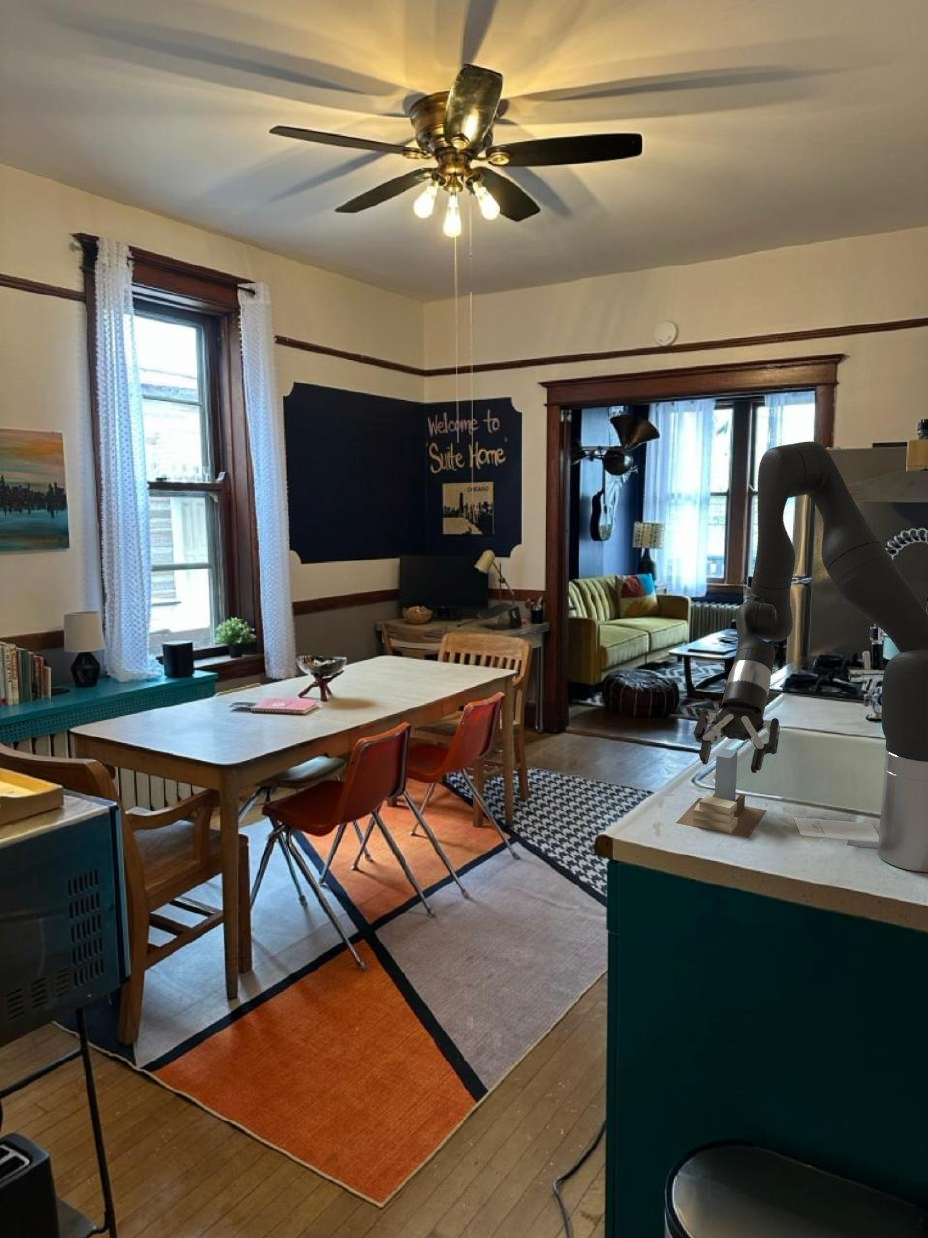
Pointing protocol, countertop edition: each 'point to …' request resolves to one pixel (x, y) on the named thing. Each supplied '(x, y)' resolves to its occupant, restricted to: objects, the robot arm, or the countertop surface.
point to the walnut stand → (745, 815)
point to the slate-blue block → (726, 775)
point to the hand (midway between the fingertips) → (728, 766)
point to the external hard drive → (840, 831)
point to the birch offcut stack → (715, 814)
